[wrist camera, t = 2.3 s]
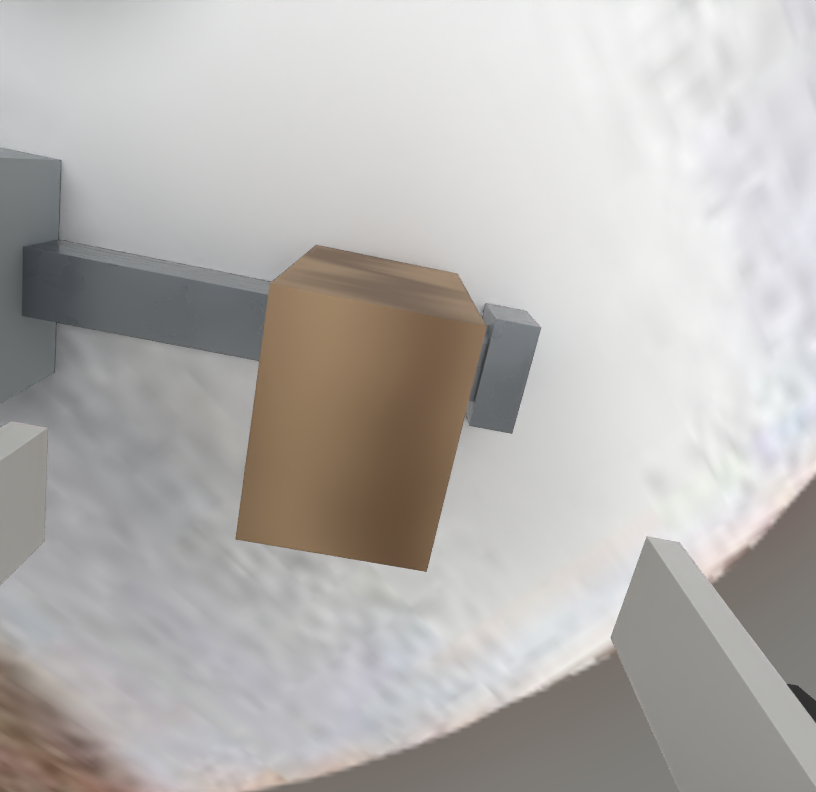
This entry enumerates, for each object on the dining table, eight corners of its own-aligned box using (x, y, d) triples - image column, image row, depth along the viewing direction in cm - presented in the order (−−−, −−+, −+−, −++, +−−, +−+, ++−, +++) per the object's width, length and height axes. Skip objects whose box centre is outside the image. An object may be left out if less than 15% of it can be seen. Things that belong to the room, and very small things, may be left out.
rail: (56, 323, 31) (15, 340, 28) (59, 217, 30) (16, 223, 26) (501, 407, 33) (512, 433, 30) (526, 311, 31) (541, 327, 28)
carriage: (298, 401, 32) (235, 539, 20) (324, 238, 30) (269, 283, 18) (417, 423, 33) (426, 571, 21) (452, 264, 30) (486, 326, 18)
